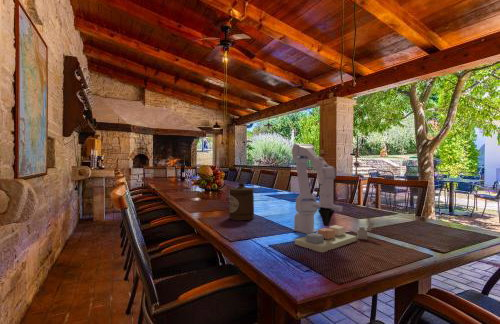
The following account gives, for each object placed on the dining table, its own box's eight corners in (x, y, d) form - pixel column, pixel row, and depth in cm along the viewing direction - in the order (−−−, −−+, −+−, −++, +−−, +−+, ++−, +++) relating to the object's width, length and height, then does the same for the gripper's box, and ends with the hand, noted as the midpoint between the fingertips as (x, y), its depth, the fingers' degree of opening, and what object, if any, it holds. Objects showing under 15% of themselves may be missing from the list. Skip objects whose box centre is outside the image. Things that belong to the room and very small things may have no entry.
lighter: (357, 238, 127) (357, 221, 127) (357, 237, 129) (357, 220, 128) (374, 240, 125) (374, 222, 125) (373, 238, 127) (373, 221, 127)
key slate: (306, 241, 117) (306, 234, 117) (313, 239, 120) (313, 232, 120) (315, 244, 113) (315, 237, 113) (323, 242, 116) (323, 235, 116)
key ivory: (328, 233, 127) (328, 226, 127) (335, 231, 130) (335, 225, 130) (338, 235, 123) (338, 228, 123) (344, 233, 126) (344, 227, 126)
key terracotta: (317, 236, 122) (317, 229, 122) (324, 234, 125) (324, 227, 125) (327, 239, 118) (327, 231, 118) (334, 236, 121) (334, 230, 121)
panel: (294, 244, 119) (294, 239, 119) (329, 234, 135) (329, 229, 135) (321, 252, 108) (321, 247, 108) (356, 240, 124) (356, 236, 124)
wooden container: (226, 216, 174) (226, 181, 173) (249, 215, 178) (249, 180, 178) (232, 221, 160) (232, 183, 159) (257, 220, 164) (257, 182, 164)
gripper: (307, 193, 124) (307, 223, 124) (335, 196, 113) (335, 230, 113) (317, 192, 129) (317, 221, 129) (345, 195, 117) (345, 227, 118)
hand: (326, 225), depth 121 cm, fingers closed
